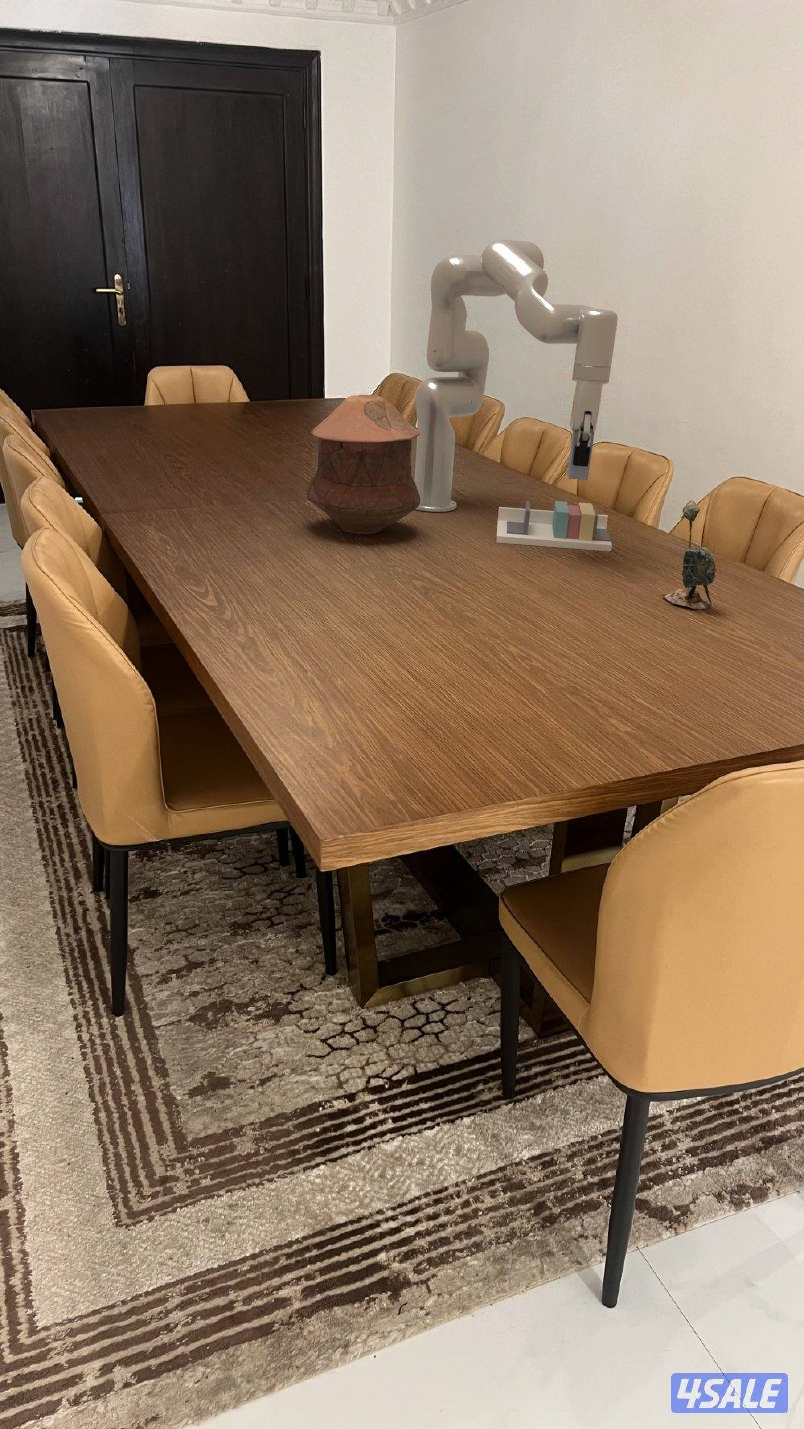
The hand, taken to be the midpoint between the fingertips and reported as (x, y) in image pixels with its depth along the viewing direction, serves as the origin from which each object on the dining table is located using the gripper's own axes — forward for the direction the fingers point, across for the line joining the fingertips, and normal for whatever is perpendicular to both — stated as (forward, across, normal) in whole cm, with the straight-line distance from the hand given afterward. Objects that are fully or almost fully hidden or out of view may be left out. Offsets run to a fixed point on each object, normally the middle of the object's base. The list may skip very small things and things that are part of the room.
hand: (579, 461), depth 216 cm
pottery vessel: (+21, -8, -47) cm, 52 cm away
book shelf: (+21, -15, -3) cm, 26 cm away
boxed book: (+3, 0, 0) cm, 3 cm away
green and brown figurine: (+20, +28, +22) cm, 42 cm away
